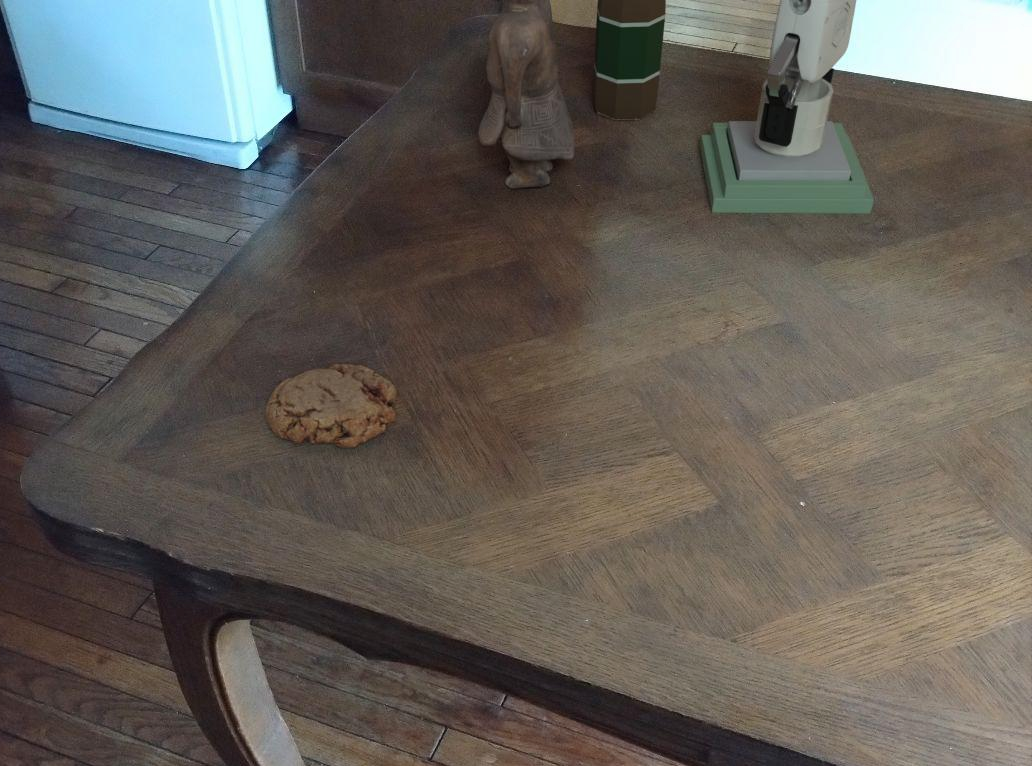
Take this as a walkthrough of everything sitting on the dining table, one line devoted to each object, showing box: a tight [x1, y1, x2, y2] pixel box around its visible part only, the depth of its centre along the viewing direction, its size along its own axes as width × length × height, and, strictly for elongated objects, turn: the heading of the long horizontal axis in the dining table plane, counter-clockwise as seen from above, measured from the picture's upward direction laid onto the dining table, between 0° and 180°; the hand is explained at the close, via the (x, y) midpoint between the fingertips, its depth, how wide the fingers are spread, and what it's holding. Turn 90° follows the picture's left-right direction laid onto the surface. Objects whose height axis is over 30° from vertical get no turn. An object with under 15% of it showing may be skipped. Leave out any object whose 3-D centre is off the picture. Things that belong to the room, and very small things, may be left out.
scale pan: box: [727, 120, 851, 181], centre depth 110 cm, size 11×11×1 cm
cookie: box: [265, 363, 397, 448], centre depth 86 cm, size 10×11×3 cm
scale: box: [699, 122, 875, 215], centre depth 112 cm, size 16×14×3 cm
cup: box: [754, 78, 834, 158], centre depth 108 cm, size 7×7×6 cm
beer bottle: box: [592, 0, 667, 122], centre depth 116 cm, size 8×8×24 cm
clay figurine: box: [477, 0, 575, 190], centre depth 105 cm, size 13×10×25 cm
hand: (792, 123), depth 108 cm, fingers open, 9 cm apart
